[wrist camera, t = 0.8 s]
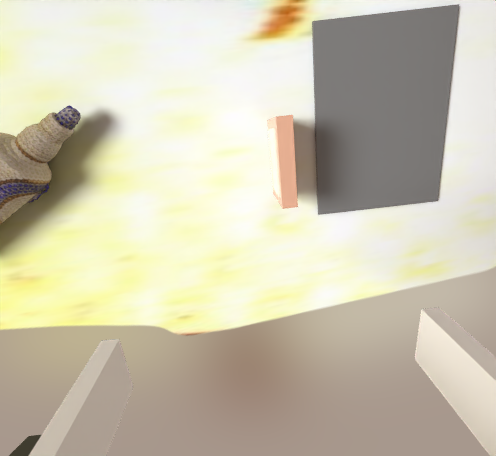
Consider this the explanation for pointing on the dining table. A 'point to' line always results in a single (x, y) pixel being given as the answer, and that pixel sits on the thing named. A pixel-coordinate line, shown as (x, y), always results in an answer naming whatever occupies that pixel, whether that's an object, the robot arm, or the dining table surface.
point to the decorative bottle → (31, 159)
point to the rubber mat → (381, 107)
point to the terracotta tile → (283, 160)
